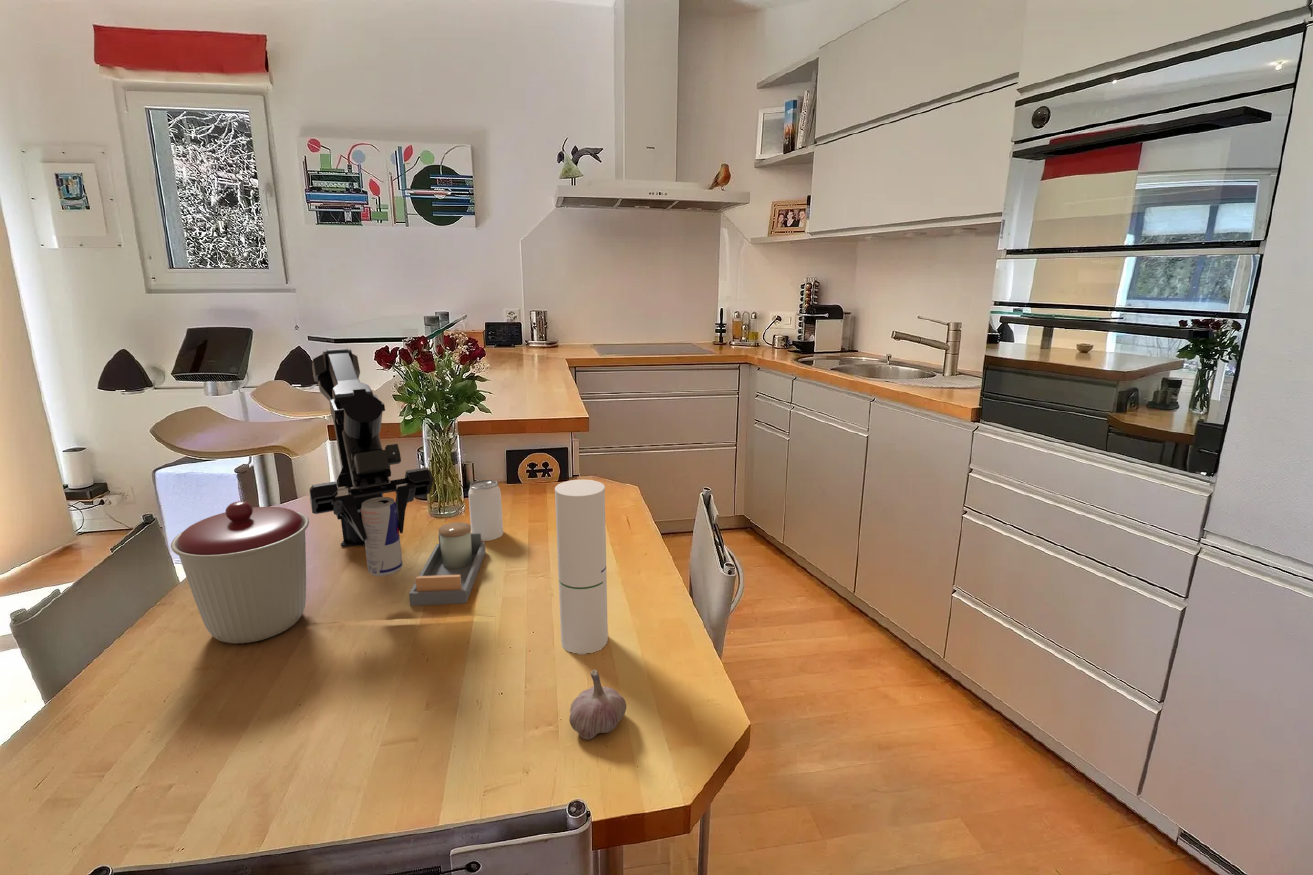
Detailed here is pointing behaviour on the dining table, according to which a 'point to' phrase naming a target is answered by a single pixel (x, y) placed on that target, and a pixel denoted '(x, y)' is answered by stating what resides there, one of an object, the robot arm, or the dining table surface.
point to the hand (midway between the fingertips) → (383, 536)
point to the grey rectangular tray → (436, 568)
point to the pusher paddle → (438, 583)
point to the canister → (246, 570)
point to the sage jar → (456, 545)
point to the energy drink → (381, 536)
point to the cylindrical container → (582, 565)
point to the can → (486, 509)
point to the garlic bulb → (596, 709)
